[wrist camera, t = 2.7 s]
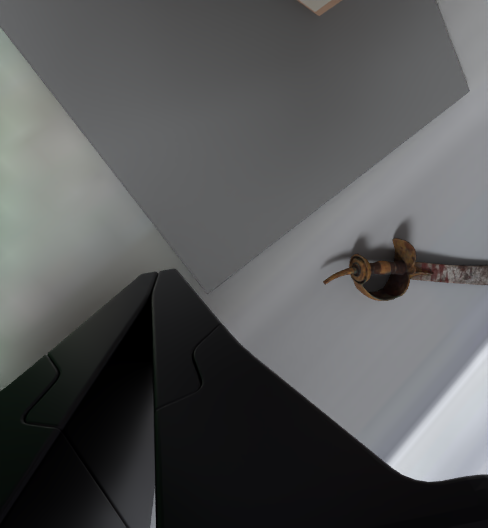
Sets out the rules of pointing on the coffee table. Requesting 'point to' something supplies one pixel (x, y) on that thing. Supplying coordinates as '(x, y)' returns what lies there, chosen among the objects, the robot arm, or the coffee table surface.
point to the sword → (408, 272)
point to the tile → (319, 5)
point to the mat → (238, 104)
